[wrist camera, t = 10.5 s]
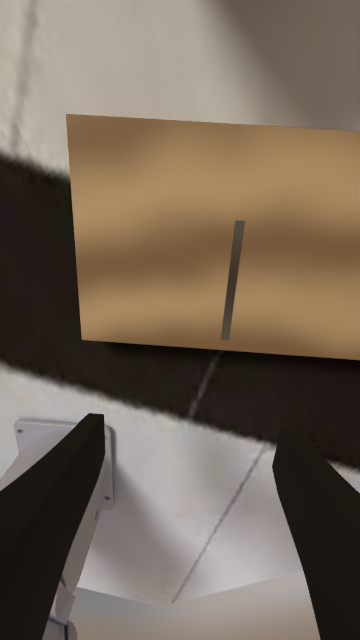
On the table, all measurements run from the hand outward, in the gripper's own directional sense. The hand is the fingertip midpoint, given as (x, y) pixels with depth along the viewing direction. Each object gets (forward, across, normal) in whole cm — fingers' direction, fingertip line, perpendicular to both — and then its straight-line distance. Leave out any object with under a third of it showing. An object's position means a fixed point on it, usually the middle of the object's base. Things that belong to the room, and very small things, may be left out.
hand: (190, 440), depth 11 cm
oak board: (+9, -8, -7) cm, 14 cm away
